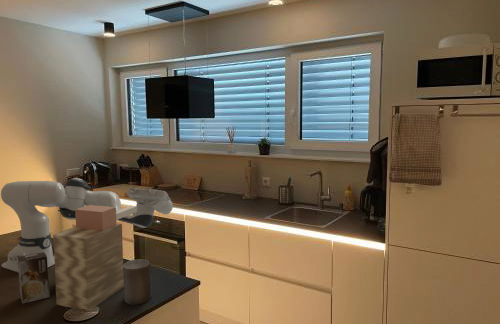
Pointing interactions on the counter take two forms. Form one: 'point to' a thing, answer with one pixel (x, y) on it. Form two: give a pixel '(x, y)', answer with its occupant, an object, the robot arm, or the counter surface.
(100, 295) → the oak pedestal
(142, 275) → the pillar candle
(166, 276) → the counter surface
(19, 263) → the coffee box
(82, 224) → the handled block
